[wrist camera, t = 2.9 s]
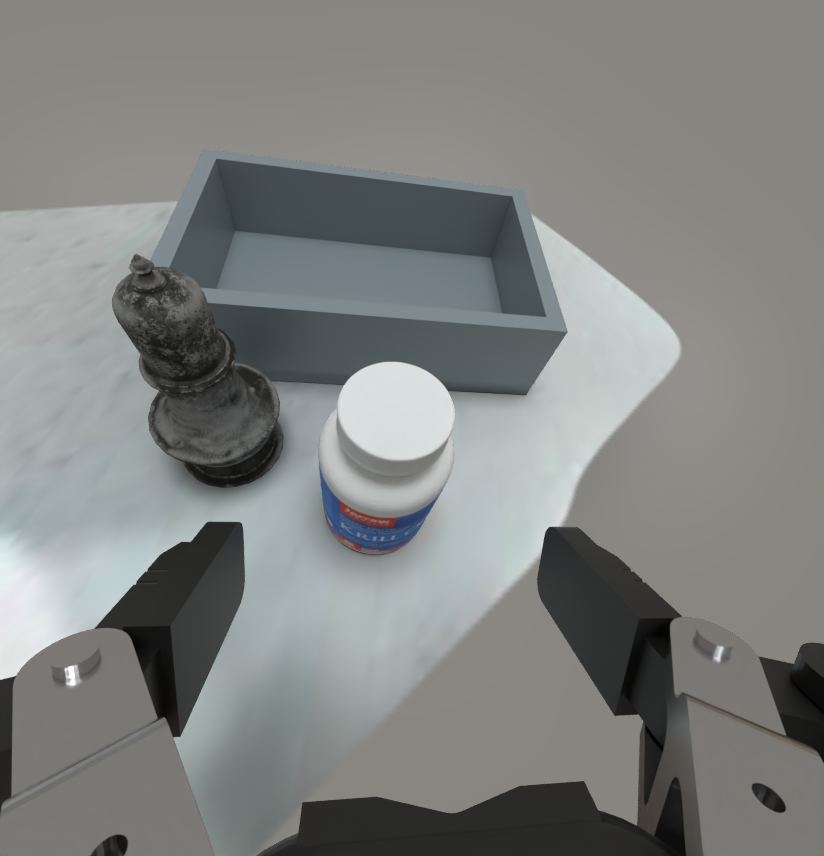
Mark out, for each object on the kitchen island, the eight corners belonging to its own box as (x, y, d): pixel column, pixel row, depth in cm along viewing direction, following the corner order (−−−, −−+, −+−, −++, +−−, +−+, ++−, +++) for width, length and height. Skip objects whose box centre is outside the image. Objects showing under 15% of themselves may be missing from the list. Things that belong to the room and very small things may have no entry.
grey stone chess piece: (160, 489, 20) (-32, 313, 10) (194, 395, 23) (74, 187, 13) (278, 496, 21) (210, 338, 11) (296, 404, 24) (257, 212, 14)
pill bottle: (330, 566, 19) (317, 495, 11) (319, 468, 22) (302, 350, 14) (436, 546, 21) (495, 468, 12) (414, 455, 23) (450, 340, 15)
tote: (179, 375, 24) (133, 296, 19) (227, 233, 31) (203, 148, 26) (525, 394, 27) (567, 331, 22) (496, 261, 34) (523, 190, 29)
